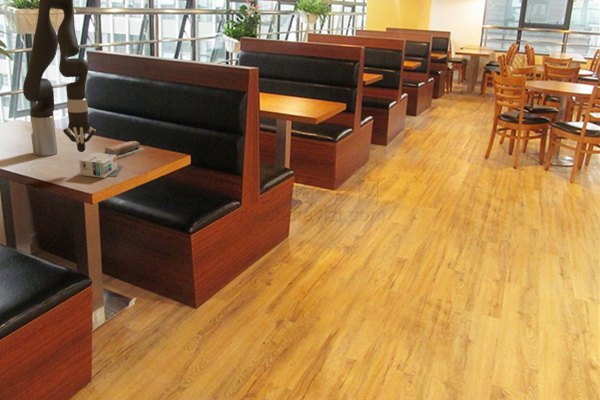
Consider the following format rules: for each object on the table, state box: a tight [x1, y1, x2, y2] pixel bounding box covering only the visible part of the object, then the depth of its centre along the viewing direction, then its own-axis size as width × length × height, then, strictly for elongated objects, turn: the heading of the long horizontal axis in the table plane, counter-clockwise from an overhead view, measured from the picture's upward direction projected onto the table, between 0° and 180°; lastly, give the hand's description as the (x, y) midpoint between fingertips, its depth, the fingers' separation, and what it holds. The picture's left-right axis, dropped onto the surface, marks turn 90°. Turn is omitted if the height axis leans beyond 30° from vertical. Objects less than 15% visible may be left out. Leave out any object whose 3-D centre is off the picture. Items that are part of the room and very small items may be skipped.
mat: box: [107, 164, 124, 177], centre depth 234 cm, size 12×14×1 cm
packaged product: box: [103, 140, 146, 160], centre depth 258 cm, size 18×5×10 cm
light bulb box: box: [78, 151, 118, 179], centre depth 229 cm, size 11×7×11 cm
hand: (81, 151), depth 229 cm, fingers closed
